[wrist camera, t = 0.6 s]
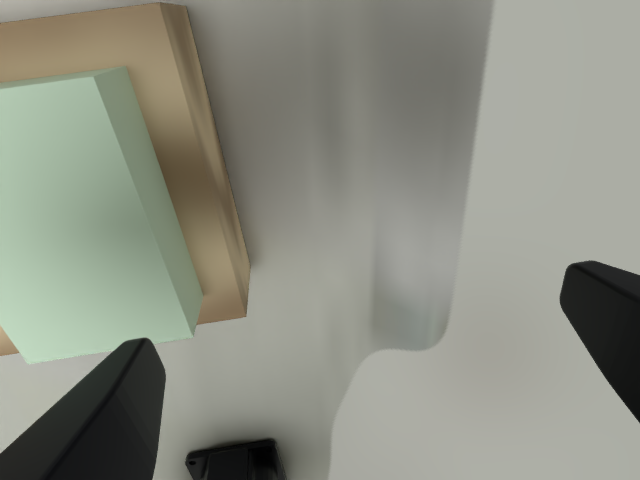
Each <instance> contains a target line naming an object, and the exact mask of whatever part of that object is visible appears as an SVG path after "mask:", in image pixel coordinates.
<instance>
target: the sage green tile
mask: <svg viewBox="0 0 640 480" xmlns="http://www.w3.org/2000/svg"><path fill="white" fill-rule="evenodd" d="M202 300H203V293H202V290H201V287H200V284H199V281H198V278H197V275H196V272H195V269H194V266H193V263H192V260H191V257H190V254H189V251H188V248H187V245H186V242H185V239H184V237H183V234H182V231H181V228H180V225H179V222H178V219H177V216H176V213H175V210H174V207H173V204H172V201H171V198H170V195H169V192H168V189H167V186H166V183H165V180H164V177H163V174H162V172H161V169H160V166H159V163H158V160H157V157H156V154H155V151H154V148H153V145H152V142H151V139H150V136H149V133H148V130H147V127H146V124H145V121H144V118H143V115H142V112H141V109H140V107H139V104H138V101H137V98H136V95H135V92H134V89H133V86H132V83H131V80H130V77H129V74H128V71H127V68H126V66H121V67H113V68H106V69H98V70H91V71H84V72H76V73H69V74H61V75H54V76H47V77H39V78H32V79H25V80H17V81H10V82H2V83H0V326H1V327H2V328H3V330H4V331H5V333H6V334H7V335H8V337H9V338H10V340H11V341H12V342H13V344H14V345H15V347H16V348H17V349H18V351H19V352H20V354H21V355H22V357H23V358H24V359H25V361H26V362H27V364H32V363H38V362H44V361H51V360H57V359H63V358H69V357H76V356H82V355H88V354H94V353H101V352H107V351H113V350H115V349H116V348H117V347H118V346H119V345H121V344H122V343H123V342H125V341H127V340H131V339H137V338H143V337H146V338H149V339H150V340H151V341H152V343H153V344H157V343H163V342H169V341H176V340H182V339H188V338H193V336H194V332H195V328H196V324H197V320H198V316H199V312H200V308H201V304H202Z"/></svg>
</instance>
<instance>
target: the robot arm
mask: <svg viewBox="0 0 640 480" xmlns="http://www.w3.org/2000/svg"><path fill="white" fill-rule="evenodd" d="M560 305H561V308H562V310H563V312H564V313H565V315H566V316H567V318H568V320H569V321H570V323H571V324H572V326H573V328H574V329H575V331H576V332H577V334H578V336H579V337H580V339H581V340H582V342H583V343H584V345H585V347H586V348H587V350H588V352H589V353H590V355H591V356H592V358H593V360H594V361H595V363H596V364H597V366H598V368H599V369H600V370H601V372H602V373H603V375H604V376H605V378H606V379H607V381H608V382H609V384H610V385H611V386H612V388H613V389H614V390H615V392H616V393H617V394H618V396H619V397H620V398H621V399H622V400H623V402H624V403H625V405H626V406H627V407H628V409H629V410H630V411H631V412H632V414H633V415H634V416H635V418H636V419H637V420H638V421H639V423H640V275H637V274H634V273H631V272H628V271H625V270H622V269H618V268H615V267H612V266H609V265H606V264H603V263H600V262H597V261H584V262H578V263H573V264H571V265H569V266H568V267H567V269H566V272H565V276H564V281H563V285H562V290H561V293H560ZM165 381H166V374H165V369H164V366H163V364H162V362H161V359H160V357H159V355H158V353H157V351H156V349H155V347H154V345H153V343H152V341H151V340H150V339H149V338H146V337H143V338H137V339H131V340H127V341H125V342H123V343H122V344H121V345H119V346H118V347H117V348H116V349H115V350H114V351H113V352H112V353H111V354H110V355H108V356H107V357H106V358H105V359H104V360H103V361H102V362H101V363H100V364H99V365H97V366H96V367H95V368H94V369H93V370H92V371H91V372H90V373H89V374H88V375H86V376H85V377H84V378H83V379H82V380H81V381H80V382H79V383H78V384H77V385H75V386H74V387H73V388H72V389H71V390H70V391H69V392H68V393H67V394H66V395H64V396H63V397H62V398H61V399H60V400H59V401H58V402H57V403H56V404H54V405H53V406H52V407H51V408H50V409H49V410H48V411H47V412H46V413H45V414H43V415H42V416H41V417H40V418H39V419H38V420H37V421H36V422H35V423H34V424H32V425H31V426H30V427H29V428H28V429H27V430H26V431H25V432H24V433H23V434H21V435H20V436H19V437H18V438H17V439H16V440H15V441H14V442H13V443H12V444H10V445H9V446H8V447H7V448H6V449H5V450H4V451H3V452H2V453H0V480H152V479H153V474H154V469H155V464H156V458H157V451H158V443H159V434H160V425H161V417H162V408H163V399H164V390H165ZM185 463H186V466H187V468H188V470H189V472H190V474H191V476H192V478H193V480H287V479H286V476H285V472H284V469H283V465H282V462H281V459H280V455H279V452H278V448H277V445H276V442H274V441H271V440H269V441H263V442H257V443H251V444H245V445H239V446H233V447H227V448H221V449H215V450H210V451H204V452H198V453H192V454H189V455H187V457H186V462H185Z"/></svg>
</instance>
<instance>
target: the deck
mask: <svg viewBox="0 0 640 480" xmlns="http://www.w3.org/2000/svg"><path fill="white" fill-rule="evenodd" d="M121 66H126V68H127V71H128V74H129V77H130V80H131V83H132V86H133V89H134V92H135V95H136V98H137V101H138V104H139V107H140V109H141V112H142V115H143V118H144V121H145V124H146V127H147V130H148V133H149V136H150V139H151V142H152V145H153V148H154V151H155V154H156V157H157V160H158V163H159V166H160V169H161V172H162V174H163V177H164V180H165V183H166V186H167V189H168V192H169V195H170V198H171V201H172V204H173V207H174V210H175V213H176V216H177V219H178V222H179V225H180V228H181V231H182V234H183V237H184V239H185V242H186V245H187V248H188V251H189V254H190V257H191V260H192V263H193V266H194V269H195V272H196V275H197V278H198V281H199V284H200V287H201V290H202V293H203V300H202V304H201V308H200V312H199V316H198V320H197V324H196V325H198V324H204V323H211V322H217V321H223V320H230V319H236V318H242V317H246V313H247V302H248V290H249V279H250V268H251V267H250V263H249V259H248V255H247V251H246V247H245V243H244V239H243V235H242V230H241V226H240V222H239V218H238V214H237V210H236V206H235V202H234V198H233V194H232V190H231V186H230V182H229V178H228V174H227V170H226V166H225V162H224V158H223V154H222V150H221V146H220V142H219V138H218V134H217V130H216V126H215V122H214V118H213V114H212V110H211V106H210V102H209V98H208V94H207V90H206V86H205V82H204V78H203V74H202V70H201V66H200V62H199V57H198V53H197V49H196V45H195V41H194V37H193V33H192V29H191V25H190V21H189V17H188V13H187V9H186V6H182V5H175V4H167V3H159V2H158V3H151V4H143V5H135V6H128V7H120V8H112V9H105V10H97V11H89V12H82V13H74V14H66V15H59V16H51V17H43V18H36V19H28V20H20V21H13V22H5V23H0V83H2V82H10V81H17V80H25V79H32V78H39V77H47V76H54V75H61V74H69V73H76V72H84V71H91V70H98V69H106V68H113V67H121ZM16 353H20V352H19V351H18V349H17V348H16V347H15V345H14V344H13V342H12V341H11V340H10V338H9V337H8V335H7V334H6V333H5V331H4V330H3V328H2V327H1V326H0V356H3V355H9V354H16Z"/></svg>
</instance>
